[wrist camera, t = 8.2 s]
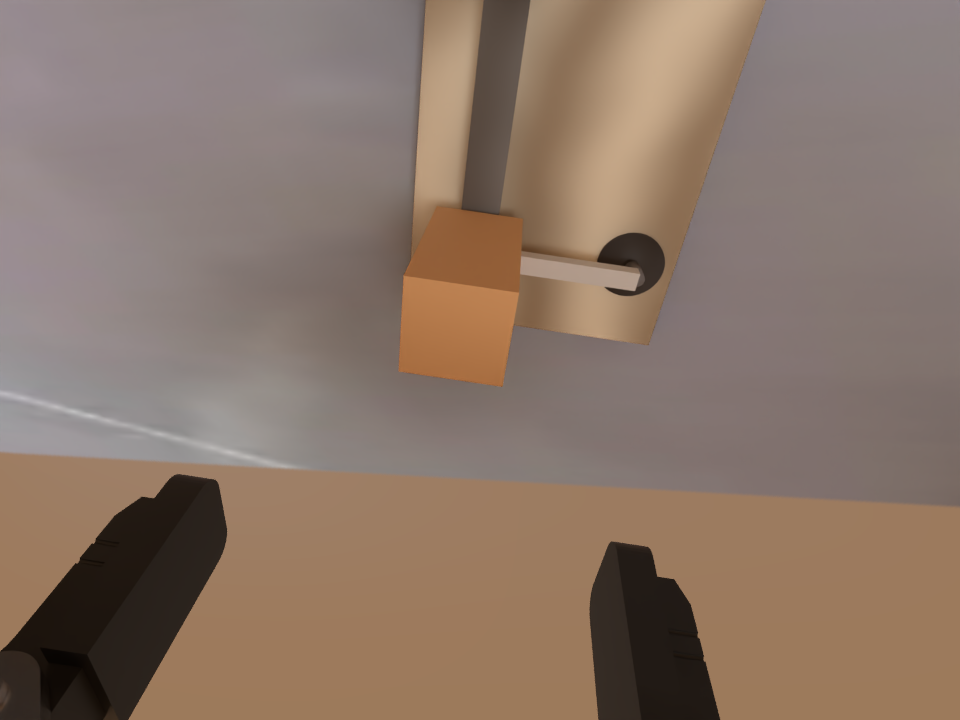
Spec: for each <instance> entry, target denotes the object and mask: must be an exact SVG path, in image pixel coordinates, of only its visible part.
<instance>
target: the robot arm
mask: <svg viewBox="0 0 960 720" xmlns="http://www.w3.org/2000/svg"><path fill="white" fill-rule="evenodd" d="M226 537H227V527H226V521H225V516H224V510H223V505H222V500H221V495H220V489H219V485H218V482H217V481H216V480H214V479H207V478H201V477H194V476H188V475H181V474H177V475H174V476H173V477H171V478H170V479H169V480H168V482H167V483H166V484H165V485H164V487H163V488H162V489H161V490H160V492H159V493H158V494H157V496H156V497H155V498H147V497H141V498H140V499H138V500H137V501H135V502H134V503H132V504H131V505H129V506H128V507H127V508H125V509H124V510H122V511H121V512H119V513H118V514H116V515H115V516H114V517H113V519H112V520H111V521H110V522H109V523H108V525H107V526H106V527H105V528H104V529H103V531H102V532H101V533H100V534H99V536H98V537H97V538H96V541H95V543H94V544H91V545H90V546H89V548H88V549H87V550H86V551H85V553H84V554H83V555H82V556H81V557H80V561H79V563H78V564H76V563H75V565H74V566H73V567H72V568H71V569H70V571H69V572H68V573H67V574H66V575H65V577H64V578H63V579H62V580H61V582H60V583H59V584H58V585H57V587H56V588H55V589H54V590H53V591H52V593H51V594H50V595H49V596H48V597H47V599H46V600H45V601H44V602H43V603H42V605H41V606H40V607H39V608H38V609H37V611H36V612H35V613H34V614H33V615H32V617H31V618H30V619H29V621H28V622H27V623H26V624H25V625H24V626H23V628H22V629H21V630H20V631H19V632H18V634H17V635H16V636H15V637H14V638H13V639H12V641H11V642H10V643H9V644H8V645H7V646H6V647H5V648H3V649H2V650H1V651H0V720H128V719H129V717H130V716H131V714H132V712H133V710H134V708H135V707H136V705H137V703H138V702H139V700H140V698H141V696H142V695H143V693H144V691H145V689H146V688H147V686H148V684H149V682H150V680H151V679H152V677H153V675H154V674H155V672H156V670H157V668H158V666H159V665H160V663H161V661H162V660H163V658H164V656H165V654H166V653H167V651H168V649H169V647H170V645H171V644H172V642H173V640H174V639H175V637H176V635H177V633H178V632H179V630H180V628H181V626H182V625H183V623H184V621H185V619H186V618H187V616H188V614H189V612H190V611H191V609H192V607H193V605H194V604H195V602H196V600H197V598H198V596H199V595H200V593H201V591H202V590H203V588H204V586H205V584H206V582H207V581H208V579H209V577H210V576H211V574H212V572H213V570H214V569H215V567H216V565H217V563H218V562H219V560H220V558H221V555H222V553H223V550H224V547H225V543H226ZM590 626H591V638H592V650H593V661H594V673H595V684H596V696H597V707H598V719H599V720H720V717H719V714H718V709H717V706H716V702H715V698H714V694H713V690H712V686H711V682H710V678H709V674H708V671H707V666H706V662H704V660H703V657H704V655H703V651H702V647H701V643H700V639H699V638H698V637H697V634H698V631H697V627H696V623H695V620H694V616H693V612H692V608H691V605H690V603H689V601H688V600H687V598H686V597H685V595H684V594H683V592H682V591H681V589H680V588H679V586H678V585H677V583H676V581H675V580H674V579H669V578H662V577H657V574H656V569H655V564H654V560H653V555H652V552H651V550H650V549H649V548H648V547H645V546H639V545H632V544H625V543H619V542H610V544H609V545H608V547H607V550H606V553H605V556H604V558H603V560H602V563H601V566H600V568H599V571H598V574H597V576H596V579H595V582H594V584H593V588H592V592H591V598H590Z"/></svg>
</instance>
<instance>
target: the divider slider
mask: <svg viewBox="0 0 960 720" xmlns="http://www.w3.org/2000/svg"><path fill="white" fill-rule="evenodd" d="M522 228H523V219H521V218H515V217H508V216H501V215H494V214H488V213H481V212H474V211H467V210H461V209H454V208H447V207H440V206H437V207H436V209H435V211H434V213H433V215H432V217H431V219H430V221H429V224H428V226H427V228H426V230H425V232H424V234H423V236H422V238H421V240H420V242H419V245H418V247H417V249H416V251H415V253H414V255H413V257H412V259H411V261H410V263H409V266H408V268H407V270H406V272H405V274H404V278H403V297H402V317H401V336H400V355H399V371H400V372H407V373H413V374H420V375H427V376H433V377H440V378H447V379H454V380H460V381H467V382H474V383H481V384H487V385H494V386H501V387H502V386H503V380H504V375H505V369H506V364H507V358H508V352H509V347H510V341H511V336H512V330H513V325H514V319H515V313H516V308H517V302H518V297H519V287H520V274H522V275H529V276H536V277H542V278H549V279H556V280H563V281H569V282H576V283H583V284H590V285H596V286H603V287H610V288H617V289H623V290H630V291H635V290H636V287H639V286H641V285H642V284H643V283H644V281H645V276H644V274H643V271H642V269H641V267H640V264H639V263H638V262H636V261H631V262H628V263H627V264H626V265H625V266H619V265H612V264H606V263H599V262H592V261H585V260H579V259H572V258H565V257H558V256H552V255H545V254H538V253H531V252H525V251H521V248H522Z"/></svg>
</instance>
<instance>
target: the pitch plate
mask: <svg viewBox="0 0 960 720" xmlns="http://www.w3.org/2000/svg"><path fill="white" fill-rule="evenodd" d="M765 1H766V0H426V7H425V24H424V41H423V58H422V75H421V92H420V109H419V126H418V143H417V160H416V177H415V194H414V211H413V228H412V245H411V259H412V257H413V255H414V253H415V251H416V249H417V247H418V245H419V242H420V240H421V238H422V236H423V234H424V232H425V230H426V228H427V226H428V224H429V221H430V219H431V217H432V215H433V213H434V211H435V209H436V207H437V206H440V207H447V208H454V209H461V210H467V211H474V212H481V213H488V214H494V215H501V216H508V217H515V218H521V219H523V228H522V248H521V251H525V252H531V253H538V254H545V255H552V256H558V257H565V258H572V259H579V260H585V261H592V262H599V263H606V264H612V265H619V266H625V265H626V264H627V263H628V262H631V261H636V262H638V263H639V264H640V267H641V269H642V271H643V274H644V276H645V281H644V283H643V284H642V285H641V286H639V287H636V290H635V291H630V290H623V289H617V288H610V287H603V286H596V285H590V284H583V283H576V282H569V281H563V280H556V279H549V278H542V277H536V276H529V275H522V274H520V287H519V297H518V302H517V308H516V313H515V319H514V325H515V326H522V327H529V328H536V329H542V330H549V331H556V332H563V333H569V334H576V335H583V336H590V337H596V338H603V339H610V340H616V341H623V342H630V343H637V344H643V345H649V342H650V339H651V336H652V333H653V330H654V327H655V324H656V321H657V318H658V315H659V312H660V309H661V306H662V304H663V301H664V298H665V295H666V292H667V289H668V286H669V283H670V280H671V277H672V274H673V271H674V268H675V265H676V262H677V259H678V257H679V254H680V251H681V248H682V245H683V242H684V239H685V236H686V233H687V230H688V227H689V224H690V221H691V218H692V215H693V212H694V210H695V207H696V204H697V201H698V198H699V195H700V192H701V189H702V186H703V183H704V180H705V177H706V174H707V171H708V168H709V165H710V163H711V160H712V157H713V154H714V151H715V148H716V145H717V142H718V139H719V136H720V133H721V130H722V127H723V124H724V121H725V118H726V115H727V113H728V110H729V107H730V104H731V101H732V98H733V95H734V92H735V89H736V86H737V83H738V80H739V77H740V74H741V71H742V68H743V66H744V63H745V60H746V57H747V54H748V51H749V48H750V45H751V42H752V39H753V36H754V33H755V30H756V27H757V24H758V21H759V19H760V16H761V13H762V10H763V7H764V4H765Z"/></svg>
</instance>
